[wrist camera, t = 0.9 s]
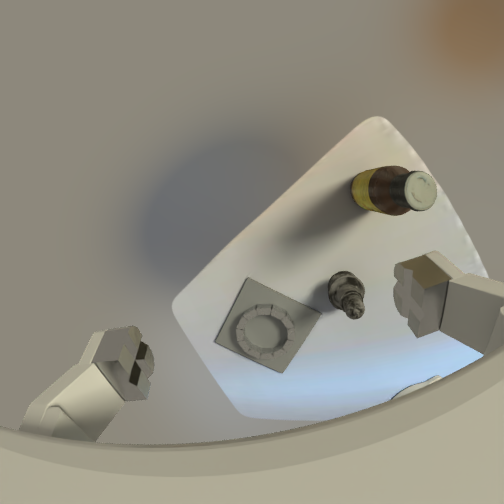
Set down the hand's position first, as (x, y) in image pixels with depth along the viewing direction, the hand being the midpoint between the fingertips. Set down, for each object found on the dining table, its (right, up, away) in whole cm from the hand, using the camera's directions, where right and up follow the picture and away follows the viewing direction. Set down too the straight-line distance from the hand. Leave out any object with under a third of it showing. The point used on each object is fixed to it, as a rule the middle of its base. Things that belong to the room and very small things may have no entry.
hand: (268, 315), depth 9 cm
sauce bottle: (+18, +12, +36) cm, 42 cm away
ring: (+2, -12, +42) cm, 44 cm away
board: (+2, -12, +43) cm, 45 cm away
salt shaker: (+15, -4, +40) cm, 43 cm away
